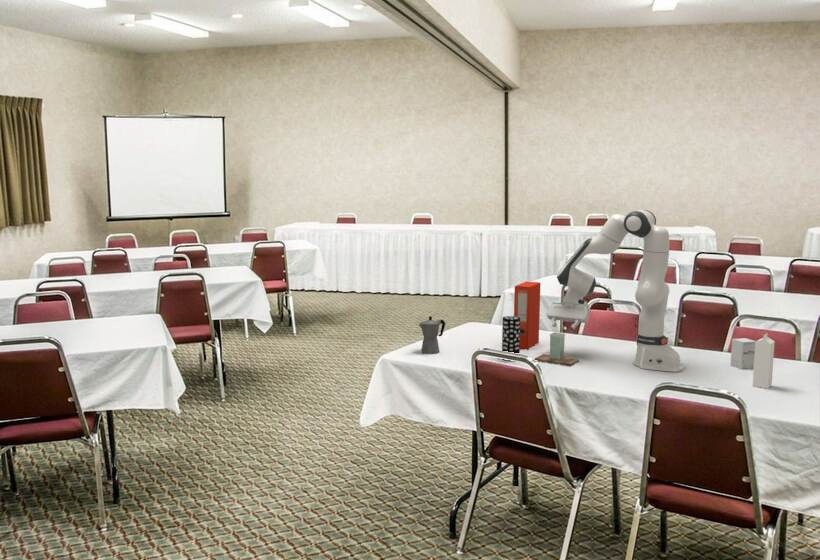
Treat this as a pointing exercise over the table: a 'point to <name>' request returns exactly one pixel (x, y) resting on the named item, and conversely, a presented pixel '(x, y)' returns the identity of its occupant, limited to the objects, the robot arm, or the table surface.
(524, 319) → the file binder
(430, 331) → the coffeepot
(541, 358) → the board
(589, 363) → the table surface
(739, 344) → the supplement box
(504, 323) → the spotted tube
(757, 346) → the milk
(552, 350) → the tea tin
